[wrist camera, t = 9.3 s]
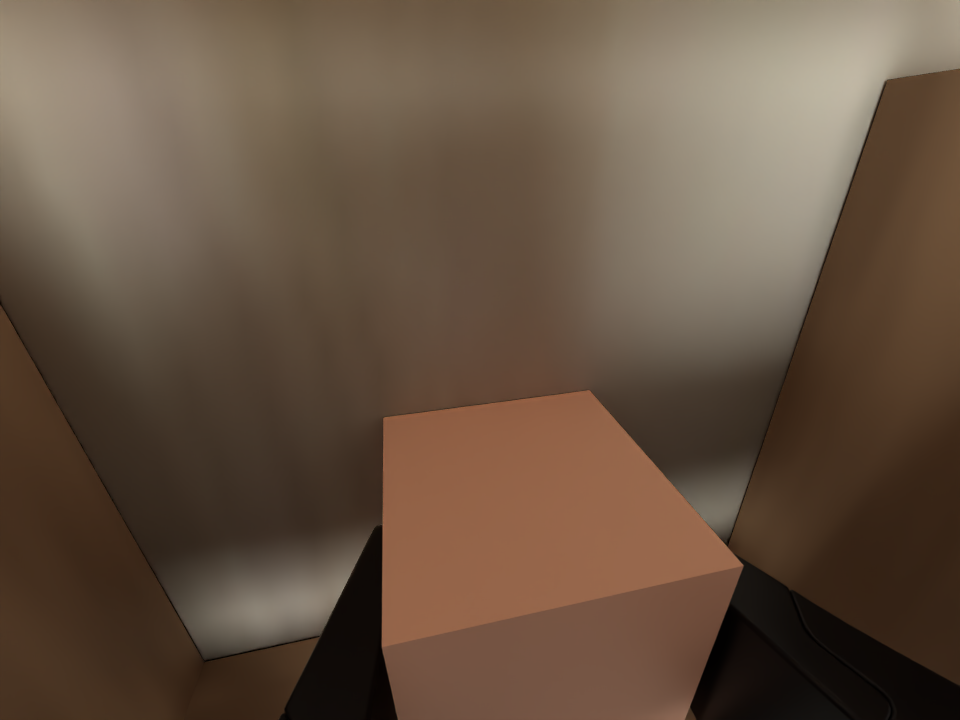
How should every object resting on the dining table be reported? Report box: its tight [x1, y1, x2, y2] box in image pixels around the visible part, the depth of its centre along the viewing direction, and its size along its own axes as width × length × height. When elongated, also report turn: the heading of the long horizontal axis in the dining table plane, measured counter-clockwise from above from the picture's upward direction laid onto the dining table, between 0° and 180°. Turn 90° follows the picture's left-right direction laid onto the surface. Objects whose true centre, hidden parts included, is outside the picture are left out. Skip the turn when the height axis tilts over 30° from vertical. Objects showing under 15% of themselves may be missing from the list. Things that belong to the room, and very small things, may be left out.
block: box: [382, 390, 744, 720], centre depth 8 cm, size 4×4×4 cm
